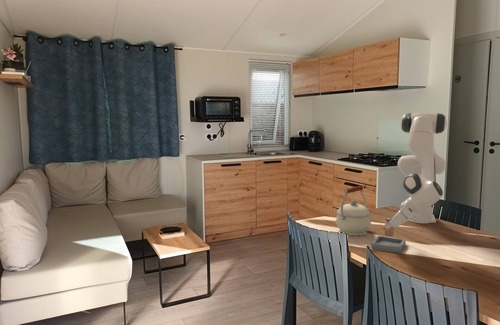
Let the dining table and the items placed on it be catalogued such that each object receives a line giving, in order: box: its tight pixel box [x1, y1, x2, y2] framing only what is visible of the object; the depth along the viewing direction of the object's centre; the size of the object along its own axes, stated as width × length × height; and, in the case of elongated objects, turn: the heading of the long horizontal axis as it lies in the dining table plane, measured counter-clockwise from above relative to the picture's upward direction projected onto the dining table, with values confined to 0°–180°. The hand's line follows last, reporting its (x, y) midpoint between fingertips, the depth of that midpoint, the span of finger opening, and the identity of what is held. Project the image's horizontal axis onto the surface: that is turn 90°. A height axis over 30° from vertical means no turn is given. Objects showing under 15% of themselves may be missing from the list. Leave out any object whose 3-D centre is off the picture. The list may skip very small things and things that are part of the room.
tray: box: [371, 234, 407, 254], centre depth 183 cm, size 13×13×2 cm
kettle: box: [335, 185, 372, 237], centre depth 206 cm, size 25×18×25 cm
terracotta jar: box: [384, 217, 395, 237], centre depth 182 cm, size 4×4×8 cm
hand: (388, 226), depth 182 cm, fingers closed on terracotta jar, 4 cm apart
